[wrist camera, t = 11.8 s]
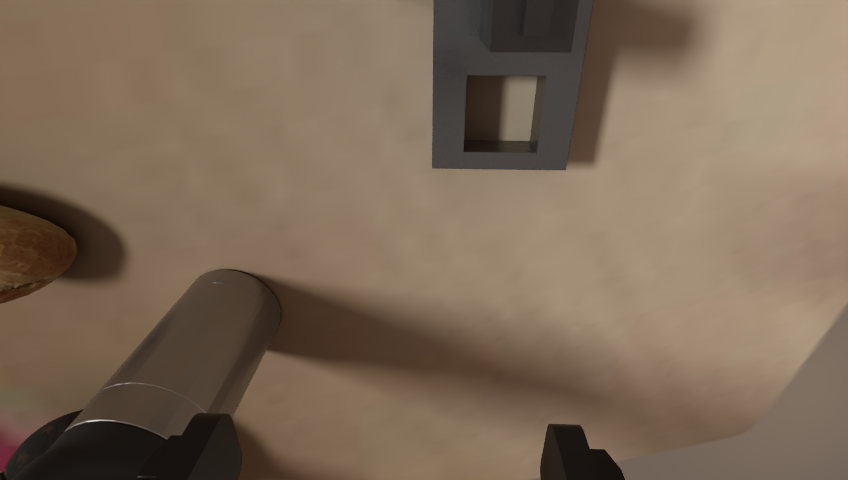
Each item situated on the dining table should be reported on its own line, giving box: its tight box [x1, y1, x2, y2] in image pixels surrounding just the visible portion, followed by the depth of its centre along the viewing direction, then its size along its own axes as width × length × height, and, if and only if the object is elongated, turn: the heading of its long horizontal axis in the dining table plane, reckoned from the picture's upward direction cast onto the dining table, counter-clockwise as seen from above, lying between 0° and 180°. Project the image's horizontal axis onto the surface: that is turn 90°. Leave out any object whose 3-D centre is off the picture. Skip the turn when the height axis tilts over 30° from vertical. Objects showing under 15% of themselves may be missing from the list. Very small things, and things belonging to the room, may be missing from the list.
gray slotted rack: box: [432, 0, 593, 170], centre depth 25 cm, size 22×10×12 cm, turn 0°
